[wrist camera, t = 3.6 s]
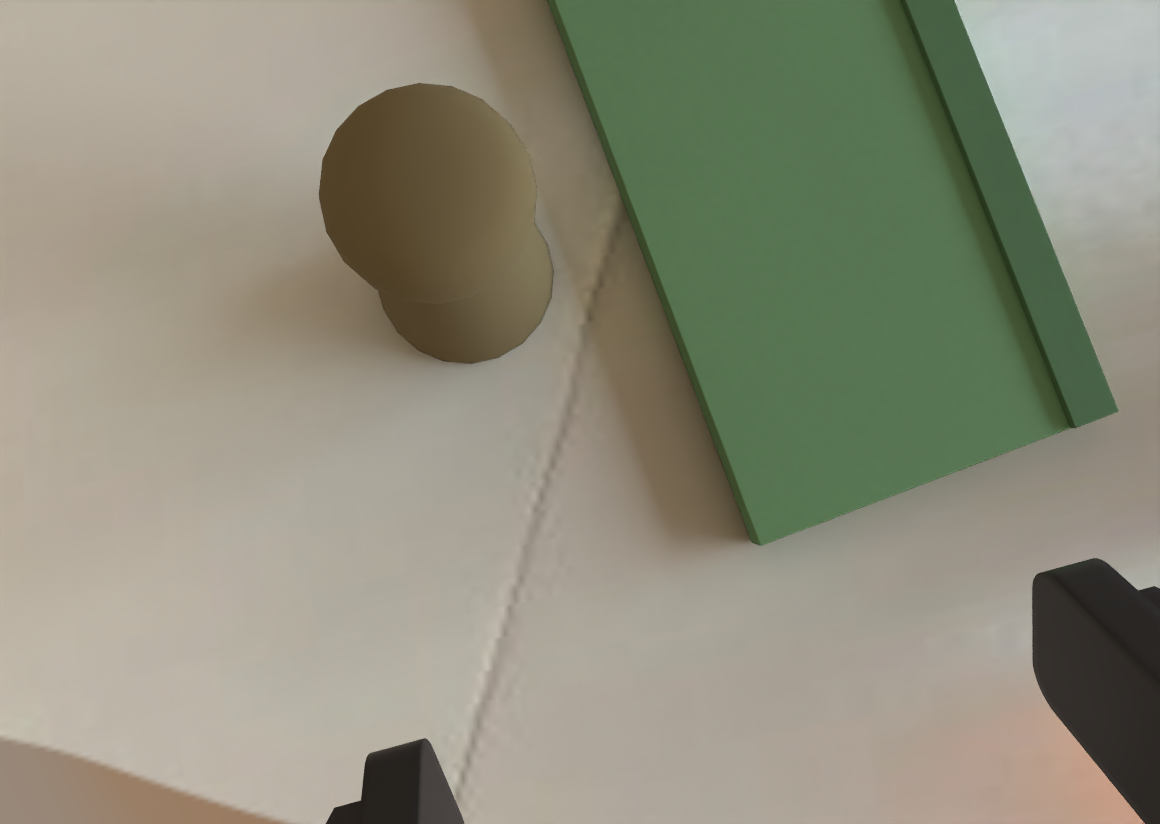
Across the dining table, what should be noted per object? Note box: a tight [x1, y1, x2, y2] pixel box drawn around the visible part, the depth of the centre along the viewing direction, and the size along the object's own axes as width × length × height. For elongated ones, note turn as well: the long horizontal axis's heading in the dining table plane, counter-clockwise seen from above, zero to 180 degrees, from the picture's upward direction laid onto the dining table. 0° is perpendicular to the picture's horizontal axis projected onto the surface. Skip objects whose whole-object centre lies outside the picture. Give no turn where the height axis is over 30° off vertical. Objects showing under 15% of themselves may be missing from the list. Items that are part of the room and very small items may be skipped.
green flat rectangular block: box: [547, 0, 1118, 546], centre depth 31 cm, size 24×13×2 cm, turn 20°
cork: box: [319, 83, 554, 364], centre depth 26 cm, size 6×6×11 cm
